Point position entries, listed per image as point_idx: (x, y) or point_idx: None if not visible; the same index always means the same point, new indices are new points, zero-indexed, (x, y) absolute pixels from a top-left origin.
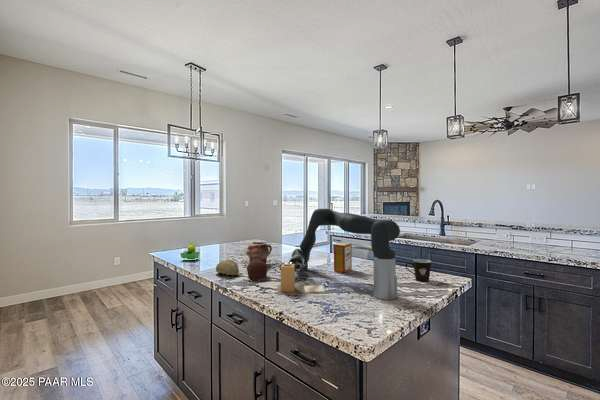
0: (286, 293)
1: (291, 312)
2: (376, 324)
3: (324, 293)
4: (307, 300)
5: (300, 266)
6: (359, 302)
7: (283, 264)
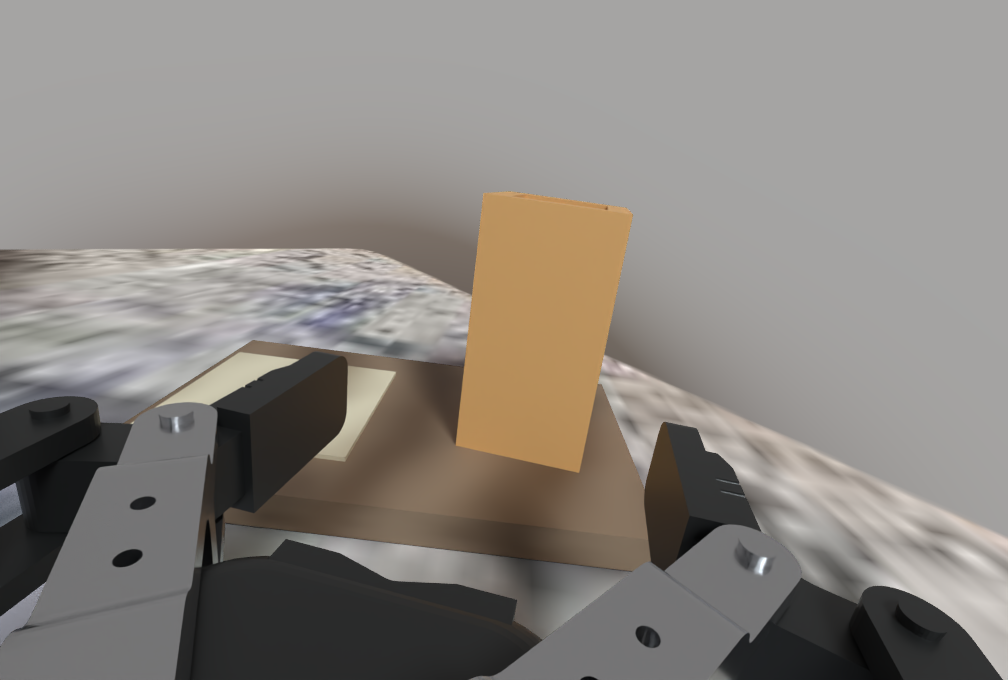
0: None
1: None
2: (261, 259)
3: (268, 344)
4: None
5: (214, 466)
6: (138, 307)
7: (619, 211)
